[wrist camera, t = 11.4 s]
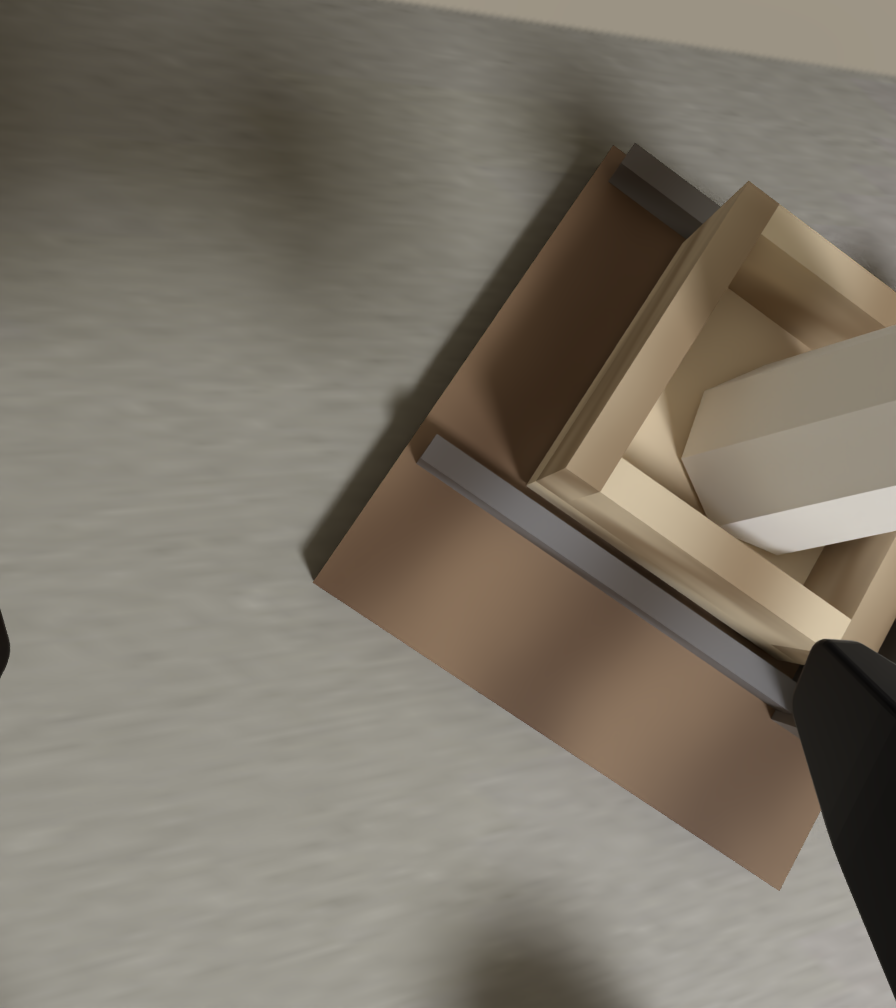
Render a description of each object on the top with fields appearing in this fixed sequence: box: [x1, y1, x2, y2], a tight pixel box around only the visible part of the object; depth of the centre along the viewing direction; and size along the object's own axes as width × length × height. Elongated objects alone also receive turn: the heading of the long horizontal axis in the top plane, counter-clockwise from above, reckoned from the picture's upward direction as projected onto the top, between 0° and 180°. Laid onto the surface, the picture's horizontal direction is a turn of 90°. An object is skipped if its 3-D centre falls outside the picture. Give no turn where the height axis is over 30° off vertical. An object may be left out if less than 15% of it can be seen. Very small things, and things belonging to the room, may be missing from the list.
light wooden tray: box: [526, 181, 896, 665], centre depth 19 cm, size 9×9×4 cm
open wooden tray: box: [313, 143, 896, 891], centre depth 19 cm, size 16×16×6 cm
